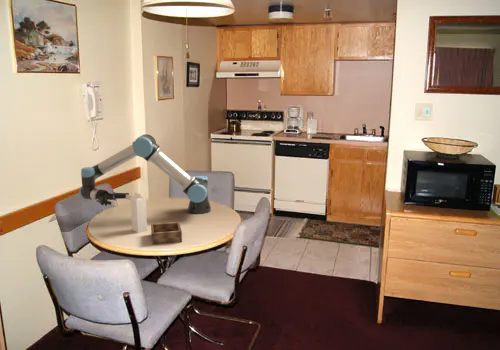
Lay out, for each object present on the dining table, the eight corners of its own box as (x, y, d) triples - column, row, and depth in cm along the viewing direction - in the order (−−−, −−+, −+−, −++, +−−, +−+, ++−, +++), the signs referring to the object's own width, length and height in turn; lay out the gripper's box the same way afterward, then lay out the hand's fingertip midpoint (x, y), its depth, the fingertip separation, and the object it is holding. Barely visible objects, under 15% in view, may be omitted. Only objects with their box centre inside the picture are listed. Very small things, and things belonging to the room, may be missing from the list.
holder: (179, 232, 238) (179, 222, 237) (181, 242, 223) (181, 231, 222) (151, 234, 234) (150, 224, 233) (152, 244, 220) (151, 233, 218)
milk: (141, 227, 245) (139, 191, 240) (147, 230, 241) (145, 192, 236) (132, 230, 240) (130, 192, 236) (137, 233, 236) (135, 194, 232)
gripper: (116, 197, 264) (141, 202, 253) (82, 206, 243) (108, 212, 232) (116, 185, 262) (140, 190, 252) (81, 193, 241) (107, 199, 231)
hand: (125, 201), depth 242 cm, fingers open, 13 cm apart
